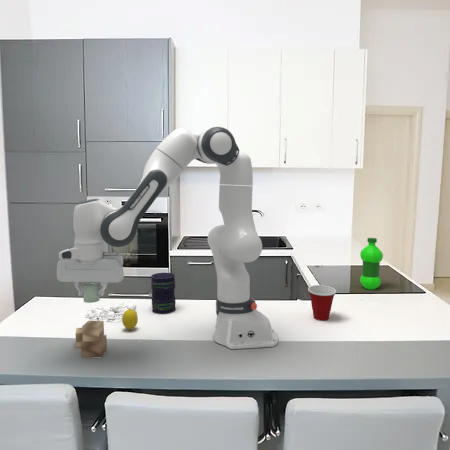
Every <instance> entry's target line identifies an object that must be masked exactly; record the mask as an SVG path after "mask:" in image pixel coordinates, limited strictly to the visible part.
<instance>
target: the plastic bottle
mask: <svg viewBox="0 0 450 450" xmlns="http://www.w3.org/2000/svg"><path fill="white" fill-rule="evenodd" d="M366 241H367V243H368V245H366V246H364V248H362V249H361V250H360V253H359V254H360V255H359V256H360V259H361V260H362V271H361V272H362V273H361V275H360V277H359V281H360V284H361V286H362V287H363V288H364V289H365V290H369V291H370V290H376V289H378V287H380V286H381V283H382V280H381V278H380V263H381V262H382V261H383V258H384V256H383V255H384V254H383V251H381V249H380V248H379V247H378V246H376V243H377V242H378V239H377V238H376V237H367V240H366Z"/></svg>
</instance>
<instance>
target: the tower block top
mask: <svg viewBox="0 0 450 450" xmlns="http://www.w3.org/2000/svg"><path fill="white" fill-rule="evenodd" d="M104 323H105V321H104V320H88V321H86V322H85V323H84V324H83V325H82V326H81V328H82V334H83V342H99V341H100V340H101V339H102V338H103V336H104V335H105V327H104V326H105V325H104Z"/></svg>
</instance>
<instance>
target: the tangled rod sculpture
mask: <svg viewBox="0 0 450 450" xmlns="http://www.w3.org/2000/svg"><path fill="white" fill-rule="evenodd" d="M97 309H98V310H97ZM119 309H124V310H123V311H121V312H117V311H118V310H119ZM128 309H132V310H134V311H135V312H136V310H137V305H136V304H135V303H134V302H130V303H128V304H126V305H125V302H124V301H123V302H121V303H119V304H113V305H112V306H109V305H106V306H105V305H104V306H99V307H92V308H90V309H88V310H87V311H86V314H85V318H89V319H90V320H91V319H93V318H95V317H96V318H98V320H99V321H104V320H109V319H110V320H117V319H119V318H121V317H123V314H124V312H125V311H126V310H128ZM111 310H112V311H111ZM115 312H116V313H115ZM115 316H116V317H115Z"/></svg>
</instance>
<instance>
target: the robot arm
mask: <svg viewBox="0 0 450 450" xmlns="http://www.w3.org/2000/svg"><path fill="white" fill-rule="evenodd" d="M193 160H196V161H198V162H200V163H204V164H207V165H210V164H211V165H212V164H213V165H214V164H215V165H216V166H217V168H218V171H219V188H218V189H219V191H218V210H219V212H220V213H221V217H222V220H223V224H219V225H216V226H214V227H213V228H211V230H210V231H209V233H208V235H207V244H208V246H209V248H210V250H211V253H212V257H213V262H214V268H215V273H216V286H217V288H216V290H217V292H216V294H217V295H216V300H215V312H216V313H215V314H216V322H215V326H214V327H215V328H214V331H213V332H214V333H213V335H212V340H213V341H214V342H216V343H218V344H220V345H222V346H225V347H226V348H228V349H230V350H241V349H243V350H244V349H256V348H257V349H258V348H270V347H271V348H273V347H275V346H277V344H278V342H279V336H278V332H276V331H275V330H274V329H272V325H271V321H270V319H269V318H268V317H267V316H266V315H264V314H263V312H260V311H259V310H258V309H257V308H258V304H257V303H256V300H255V299H254V298H253V297H252V298H251V297H250V294H251V293H250V287H251V286H250V284H251V283H250V280H251V279H250V274H249V272H248V270H247V268H246V265H245V263H252V262H254V261H256V260H257V259H258V258H259V257H260V256H261V254H262V251H263V242H262V239H261V237H260V236H259V235H258V232H257V229H256V225H255V220H254V215H253V186H254V185H253V183H254V180H253V178H254V177H253V165H252V159H251V157H250V156H249V155H248V154H247V153H246V152H243V151H240V149H239V146H238V144H237V143H236V140H235V137H234V135H233V133H232V132H231V131H230V130H229V129H227V128H225V127H222V126H212V127H210V128H208V129H206V130H204V131H202V132H201V133H199V134H194V133H193V132H192V131H191V130H188V129H186V128H183V127H180V128H179V127H178V128H176V129H174V130H173V131H171V132H170V133H169V134H168V135H167V136H166V137H165V138H164V139H163V140H162V141H160V143H159V144H158V145H157V147H156V148H155V149H154V151H153V152H152V153H151V155H150V156H149V158H148V160H147V161H146V163H145V165H144V167H143V173H142V177H141V180H140V182H139V184H138V186H137V187H136V188H135V190H134V191H133V192H132V194H131V195H130V197H128V199H127V200H126V202H125V203H123V205H122V207H120V208H118V207H117V208H116V207H114V206H111V205H109V204H107V203H105V202H104V201H102V200H101V199H99V198H91V199H86V200H83V201H82V200H81V201H79V202H78V203H77V204H75V206H74V208H73V221H72V222H73V223H72V224H73V231H74V235H75V236H74V241H73V242H74V243H73V245H74V246H71V247H69V248H66V249H64V250H61V251H59V252H58V259H59V260H58V262H57V263H56V279H57V280H58V281H59V282H62V283H65V282H69V283H73V285H74V287H75V289H76V290H77V291H78V293H77V295H78V296H82V297H83V286H82V285H81V284H82V283H100V285H101V289H100V288H99V290H98V296H100V297H104V295H105V289H106V288H107V286H108V285H109V284H108V283H120V282H121V281H123V280H124V277H125V274H124V273H125V272H124V266H123V265H124V256H123V255H122V254H121V253H119V252H117V251H115V252H114V251H113V252H112V251H105V250H106V249H105V244H107V245H109V246H111V247H115V248H122V247H126V246H128V245H129V244H130V243H132V242H133V241H134V239H135V238H136V236H137V232H138V228H139V223H140V221H142V218H143V216H144V215H145V214H146V213H147V212H148V210H149V208H150V207H151V206H152V204H154V202H155V201H156V200H157V198H158V197H159V195H161V194H162V192H164V191H165V190H166V189H168V188H169V187H170V185H172V184H173V183H175V181H176V180H177V179H178V178H179V177H180V176H181V174H182V173H183V172H184V171H185V170H186V168H187V167H188V166H189V165H190V164H191V163H192V161H193Z"/></svg>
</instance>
